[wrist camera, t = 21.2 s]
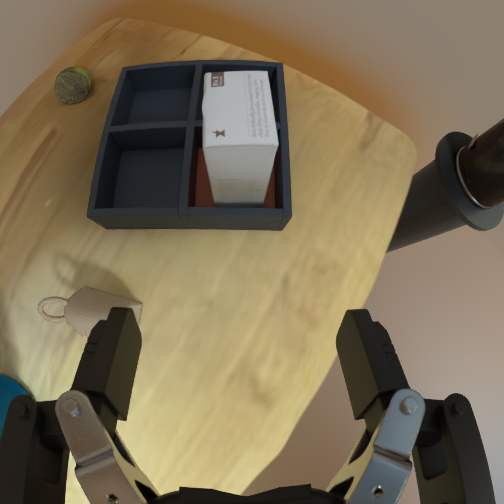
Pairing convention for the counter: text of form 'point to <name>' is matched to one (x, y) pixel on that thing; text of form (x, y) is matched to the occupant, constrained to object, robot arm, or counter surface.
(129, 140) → the grid
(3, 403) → the vase
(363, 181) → the counter surface
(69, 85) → the lime
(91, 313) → the decorative ornament
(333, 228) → the counter surface
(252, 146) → the cosmetic box
